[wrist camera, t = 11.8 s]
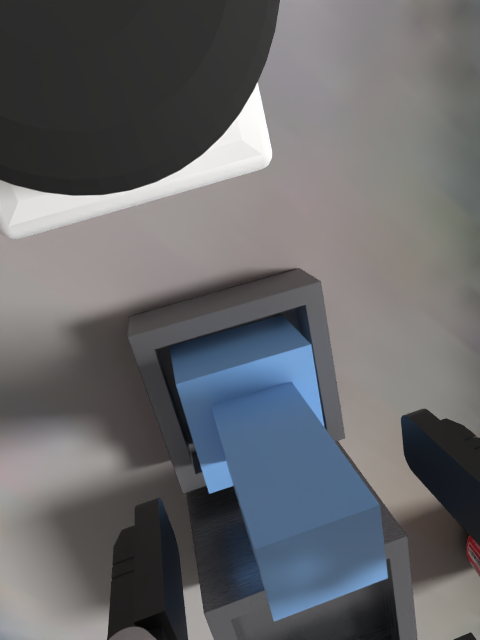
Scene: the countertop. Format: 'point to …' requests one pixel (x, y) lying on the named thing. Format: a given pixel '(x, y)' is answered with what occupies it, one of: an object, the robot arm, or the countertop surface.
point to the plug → (280, 463)
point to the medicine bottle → (126, 103)
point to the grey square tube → (249, 595)
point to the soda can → (473, 554)
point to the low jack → (217, 316)
